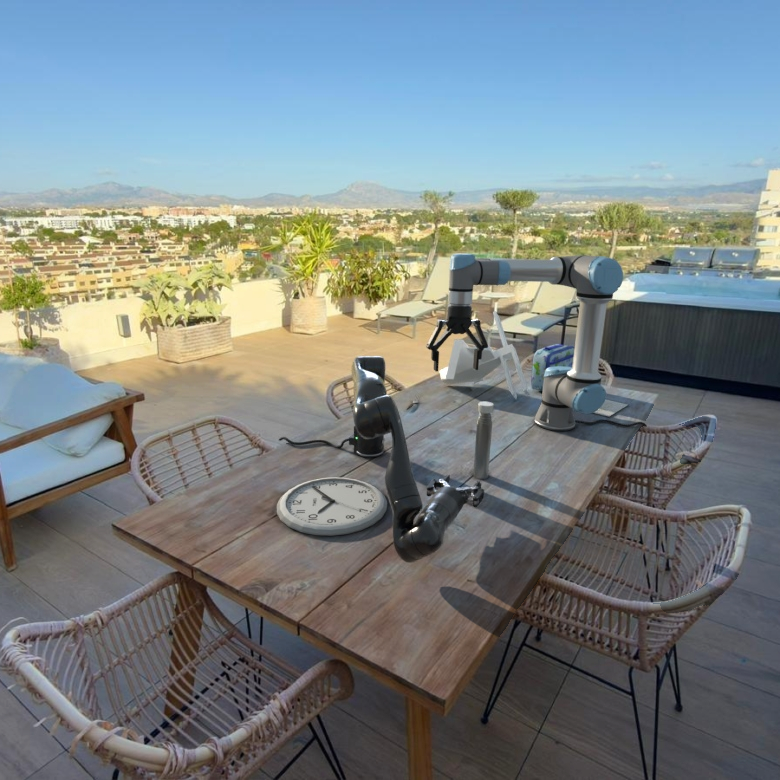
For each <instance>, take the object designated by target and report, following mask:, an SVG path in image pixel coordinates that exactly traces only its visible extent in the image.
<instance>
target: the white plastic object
mask: <svg viewBox="0 0 780 780" xmlns="http://www.w3.org/2000/svg"><path fill="white" fill-rule="evenodd" d="M492 315H493V319H494V321H495V324H496V325H495V326H496V328H497V332H498V335H499V338H500V342H501V345H502V347H500V348H498V349H496V350H495V349H493V348H492V347H491V346H490V344H489V343H488V342H487V344H488V348H484V350H483V351H482V358H481V359H479V365H478V370H475V369H474V368H473V361H474V349H477V347H476V346H475V345H473V346H469V345H468V343H466V342H465V340H464V339H463V338H460V339H458V338H454V340H453V344H452V349H451V353H450V357H449V362H448V366H446V367H444V368H442V369H440V370H439V369H438V372H439V376H440V381H442V383H443V384H444V385H445V386H449V385H458V384H467V383H468V384H469V383H473V384H477V383H480V382H482V381H484V378H485V377H486V376H487V375H489V374H490V373H492V372H494V371H495V370H496V369H497V368H499V367H500V366H502V370H503V373H504V376H505V380H506V383H507V386H508V390H509V393H510V394H511V395H512V397H513V398H514V399H515V400H517V392H516V391H517V390H516V388H515V385H514V381H513V378H512V375H511V371H510V369H509V365H508V361H510V360H513V363H514V366H515V369H516V372H517V376H518V380H519V382H520V385H521V389H522V391H523V393H524V395H525V396H526V397H528V396H531V395H530V390H529V388H528V387H529V386H528V384H527V381H526V378H525V375H524V371H523V369H522V368H523V367H522V366H521V362H520V359H519V355H518V352H517V349H516V347H515V346H514V345H513V343H511V344H508V341H507V337H506V334H505V331H504V328H503V325H502V321H501V318H500V315H499V314H498V312H497V311H496V310H495V311H492Z"/></svg>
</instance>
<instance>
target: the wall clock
mask: <svg viewBox="0 0 780 780" xmlns="http://www.w3.org/2000/svg"><path fill="white" fill-rule="evenodd" d="M387 509H388V500H387V498H386V496H385V494H384V493H383V492H382V491H381V490H380V489H379V488H377V487H376V486H374V485H372V484H371V483H369V482H365V481H362V480H359V479H355V478H349V477H338V476H337V477H335V476H333V477H332V476H331V477H322V478H317V479H312V480H307V481H305V482H302V483H299V484H297V485H295V486H293V487H292V488H290V489H288V490H287V491H286V492H285V493H284V494H283V495H281V496H280V498H279V499H278V502H277V503H276V515H277V517H278V518H279V520H280V521H281V522H282V523H283V524H285V525H286V526H287V527H288V528H290V529H293V530H295V531H297V532H299V533H303V534H308V535H312V536H327V537H328V536H329V537H331V536H332V537H333V536H342V535H350V534H352V533H356V532H361V531H363V530H366V529H368V528H369V527H372V526H373V525H375V524H376V523H378V522H379V521H380V520H381V519H382V518H383V517H384V516H385V514H386V512H387Z"/></svg>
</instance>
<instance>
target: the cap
mask: <svg viewBox="0 0 780 780" xmlns="http://www.w3.org/2000/svg"><path fill="white" fill-rule="evenodd" d="M477 407H478V408H477V411H478V412H479V413H480V412H481V413H491V414H492V413H494V407H495V405H494V403H493V402H490V401H486V400H485V401H479V402H478V404H477Z"/></svg>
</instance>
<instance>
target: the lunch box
mask: <svg viewBox="0 0 780 780" xmlns="http://www.w3.org/2000/svg"><path fill="white" fill-rule="evenodd" d="M574 349H575V346H572V345H565V344H560V343H555V344H552V345H547V346H545V347H542V348H539V349H537V350H536V351H535V353H534V355H533V358H532V363H531V364H532V365H531V376H530V377H531V378H530V387H531V389H532V390H536V391H539V392H540V391H541V392H543V382H544V374H545V370H546V369H547V368H549V367H556V366H563V367H572V365H573V357H574Z"/></svg>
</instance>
